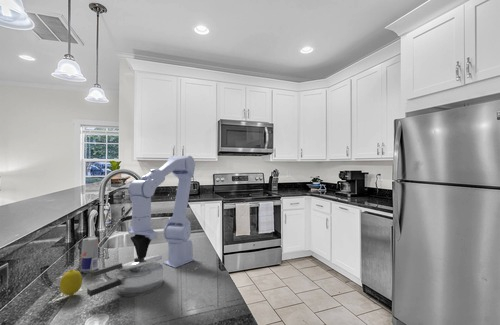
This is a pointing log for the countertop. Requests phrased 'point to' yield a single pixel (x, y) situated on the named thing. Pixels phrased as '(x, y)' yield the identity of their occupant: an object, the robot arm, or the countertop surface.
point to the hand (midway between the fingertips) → (141, 257)
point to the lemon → (70, 282)
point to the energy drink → (89, 254)
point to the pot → (133, 281)
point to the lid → (128, 265)
